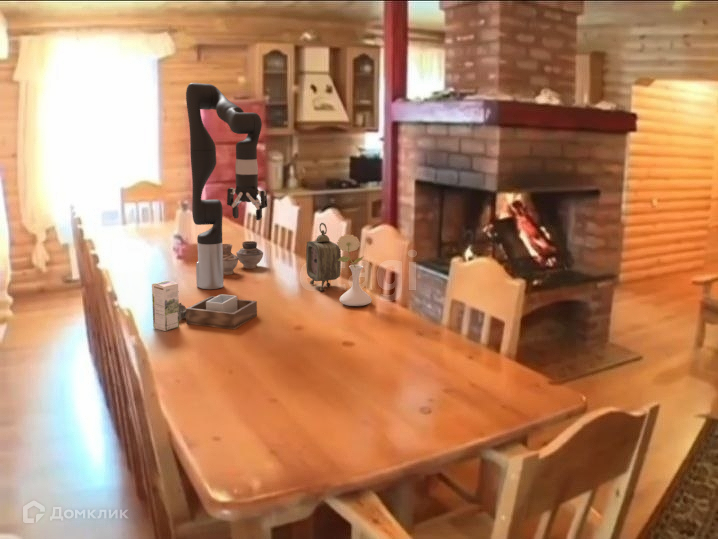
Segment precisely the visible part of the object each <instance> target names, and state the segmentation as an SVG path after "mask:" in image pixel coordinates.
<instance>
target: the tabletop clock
mask: <svg viewBox="0 0 718 539" xmlns="http://www.w3.org/2000/svg"><path fill="white" fill-rule="evenodd" d="M322 226H323V227H324V229H325V230H324V229H323V230H322ZM327 228H328V227H327V225H326V223H324V222H321V223H320V224H319V232H320V235H318V236H317V237H316V240H309V241H307V242H306V250H305V251H306V253H305V254H306V255H305V260H306V261H305V262H306V264H305V265H306V274H307V276H308V277H309V278H310V279H311V280H310V281H309V282H310V284H311V285H314V284H315V282H321V286H320V287H319V291H321V292H323V291H324V290H325V288H324V285H326V287H328V288H330V287H331V283H330V282H329V281H335V280H337V279H339V278H340V276H341V269H342V268H341V267H342V266H341V265H342V261H338V259H339V258H341V257H342V254H341V252H342V250H341V249H339V247H338V244H337V243H334V242H333V241H331V240H330V238H329V236H328V235H327V232H328V229H327ZM325 282H326V284H325Z"/></svg>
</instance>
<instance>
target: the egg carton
mask: <svg viewBox="0 0 718 539" xmlns="http://www.w3.org/2000/svg"><path fill="white" fill-rule="evenodd" d="M186 308H187V307H186V305H184V304H182V302H180V303H179V322H180V321H182V320H183V319H186Z"/></svg>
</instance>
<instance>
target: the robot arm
mask: <svg viewBox="0 0 718 539" xmlns="http://www.w3.org/2000/svg"><path fill="white" fill-rule="evenodd" d="M185 91H186V92H185V101H186V102H185V103H186V109H187V117H188V124H189V125H188V126H189V140H190V141H189V142H190V143H189V144H190V146H189V149H190V150H189V152H190V153H189V154H190V165H191V168H190V169H191V180H192V182H191V183H192V185H191V186H192V188H191V189H192V190H191V192H192V193H191V194H192V195H191V196H192V202H191V208H192V209H191V210H192V220H193V223H194V225H196V226H204V225H205V226H207V225H208V226H209V225H212V226H211V227H210V228H209V229H208V230H206V231H204V232H200V233H199V234H198V235H197V239H196V240H197V242H196V243H197V261H196V262H195V275H196V287H197V288H199V289H202V290H216V289H217V290H218V289H222V288H224V275H223V244H224V243H223V205H222V202H221V200H220V199H202V195H203V192H204V188H205V186H206V184H207V182H208V180H209V179H210V177H211V175H212V173H213V172H214V171H215V169H216V166H217V149H216V148H217V147H216V144H215V142H214V139H213V137H212V136H211V134H210V133H209V131H208V130H207V129H206V127H205V125H204V123H203V119H202V114H201V110H205V111H206V110H209V111H210V110H215V111H216V115H217V116H218V118H219V119H220V120H222V121H223V122H224V123H225V124H227V125H228V127H229V128H230V130H231V132H232V133H235V134H237V135H246V138H245V139H244V140H240V141H238V142H236V144H235V159H236V160H235V167H234V168H235V186H236V187H235V188H234V187H230V188H229V187H228V188H227V189H226V190H227V192H226V193H227V195H226V196H227V197H226V204H227V206H230V207H232V217H233V218H234V219H238V218H239V217H240V216H239V207H238V206H239V205H240V204H241V202H243V203H245V202H246V203H251V204H252V205H254V207H255V208H256V210H255V219H256V221H260V220H261V219H262V217H263V210H264V208H267V207H268V194H267V193H268V192H267V190H266V189H264V190H259V186H258V185H259V169H258V149H257V147H258V143H259V139H260V135H261V131H262V126H263V125H262V124H263V123H262V122H263V121H262V118H261V116H260V115H259V113H256V112H245V111H244V109H242V108H241V107H240V106H238V105H237V104H235V103H234V102H232V101H230V100H229V99H228V97H226V96H225V95H224V94H223V93H222V92H221V90H220V89H219V88H218V87H216V85H214V84H211V83H202V82H201V83H199V82H190V83H189V84H188V85H187V87H186V90H185ZM235 194H236V196H237V197H235ZM258 195H259V197H260V199H259V197H258ZM234 197H235V199H234Z"/></svg>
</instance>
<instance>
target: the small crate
mask: <svg viewBox="0 0 718 539" xmlns="http://www.w3.org/2000/svg"><path fill="white" fill-rule="evenodd" d="M237 299H238V295H233V294H232V295H230V294H223V293H221V294H220V293H219V294H218V295H216V296H214V298H212V299H210V300H208V301H206V310H211V311H220V312H229V313H234V312H235V311H237Z"/></svg>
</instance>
